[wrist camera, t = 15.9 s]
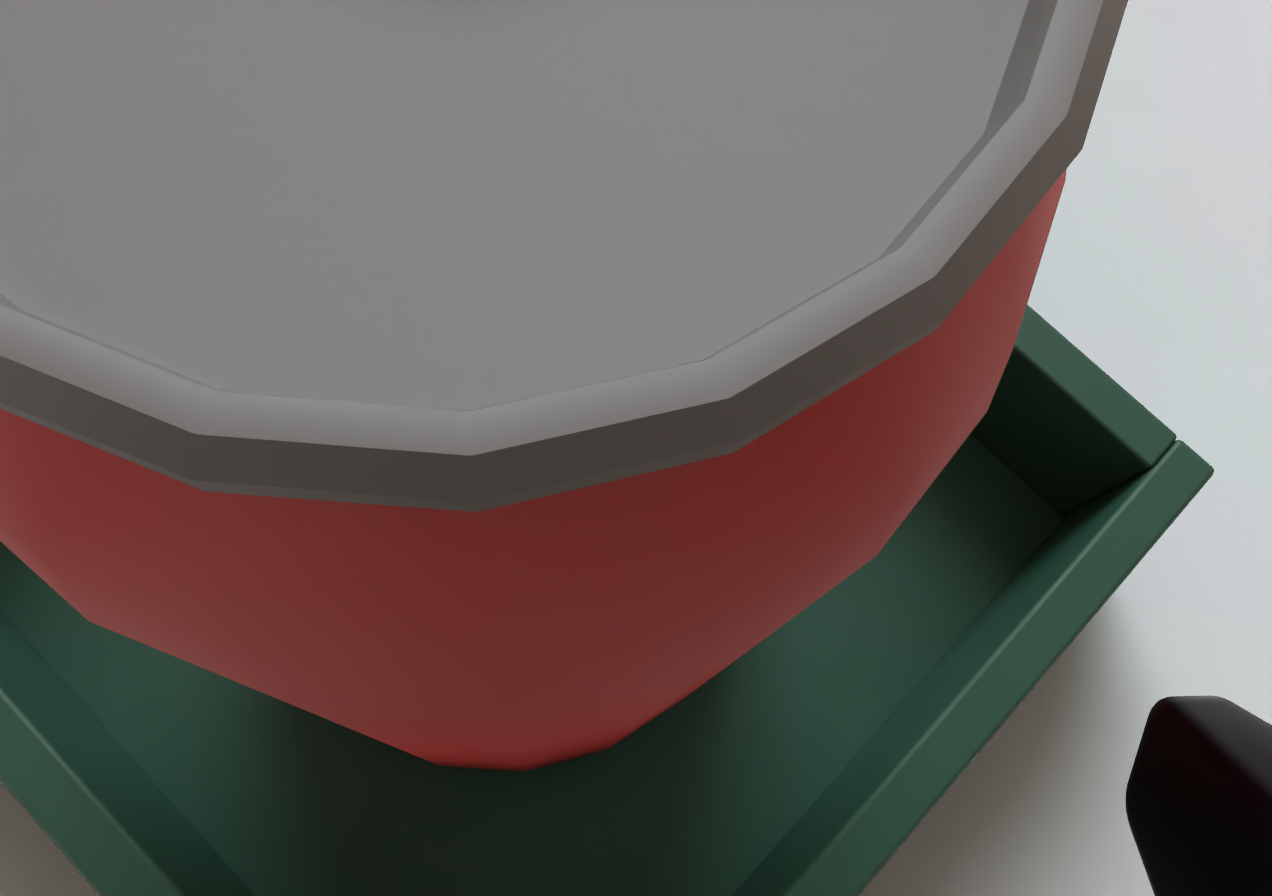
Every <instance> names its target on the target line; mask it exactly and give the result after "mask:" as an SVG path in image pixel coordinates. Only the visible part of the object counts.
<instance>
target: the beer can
mask: <svg viewBox="0 0 1272 896" xmlns="http://www.w3.org/2000/svg"><path fill="white" fill-rule="evenodd" d="M1127 2H1128V0H0V541H1V542H2V543H3V544H4V545H5V546H6V547H7V548H8V549H9V550H11V551H12V552H13V553H14V554H15V555H16V556H17V557H18V558H19V559H20V560H22V561H23V562H24V563H25V564H26V565H27V566H28V567H29V568H30V569H32V570H33V571H34V572H35V573H36V574H37V575H38V576H39V577H40V578H41V579H43V580H44V581H45V582H46V583H47V584H48V585H49V586H50V587H51V588H53V589H54V590H55V591H56V592H57V593H58V594H59V595H60V596H61V597H63V598H64V599H65V600H66V601H67V602H68V603H69V604H70V605H71V606H72V607H74V608H75V609H76V610H77V611H78V612H79V613H80V614H81V615H82V616H84V617H85V618H86V619H87V620H88V621H90V622H92V623H94V624H97V625H99V626H102V627H104V628H107V629H109V630H111V631H114V632H116V633H119V634H121V635H124V636H126V637H128V638H131V639H133V640H136V641H138V642H140V643H143V644H145V645H148V646H150V647H153V648H155V649H157V650H160V651H162V652H165V653H167V654H170V655H172V656H174V657H177V658H179V659H182V660H184V661H187V662H189V663H191V664H194V665H196V666H199V667H201V668H204V669H206V670H208V671H211V672H213V673H216V674H218V675H221V676H223V677H225V678H228V679H230V680H233V681H235V682H238V683H240V684H242V685H245V686H247V687H250V688H252V689H255V690H257V691H259V692H262V693H264V694H267V695H269V696H272V697H274V698H276V699H279V700H281V701H284V702H286V703H289V704H291V705H293V706H296V707H298V708H301V709H303V710H306V711H308V712H310V713H313V714H315V715H318V716H320V717H323V718H325V719H327V720H330V721H332V722H335V723H337V724H340V725H342V726H344V727H347V728H349V729H352V730H354V731H357V732H359V733H361V734H364V735H366V736H369V737H371V738H374V739H376V740H378V741H381V742H383V743H386V744H388V745H391V746H393V747H395V748H398V749H400V750H403V751H405V752H408V753H410V754H412V755H415V756H417V757H420V758H422V759H425V760H427V761H429V762H432V763H434V764H437V765H439V766H448V767H464V768H480V769H496V770H512V771H528V770H532V769H536V768H540V767H543V766H547V765H551V764H555V763H558V762H562V761H566V760H570V759H573V758H577V757H581V756H585V755H589V754H592V753H596V752H600V751H604V750H607V749H609V748H610V747H612V746H613V745H615V744H616V743H618V742H619V741H621V740H622V739H624V738H625V737H627V736H628V735H630V734H632V733H633V732H635V731H636V730H638V729H639V728H641V727H642V726H644V725H645V724H647V723H648V722H650V721H651V720H653V719H654V718H656V717H657V716H659V715H660V714H662V713H664V712H665V711H667V710H668V709H670V708H671V707H673V706H674V705H676V704H677V703H679V702H680V701H681V700H683V699H684V698H685V697H687V696H688V695H689V694H691V693H692V692H693V691H695V690H696V689H697V688H699V687H700V686H701V685H703V684H704V683H706V682H707V681H708V680H710V679H711V678H712V677H714V676H715V675H716V674H718V673H719V672H720V671H722V670H723V669H724V668H726V667H727V666H728V665H730V664H731V663H732V662H734V661H735V660H737V659H738V658H739V657H741V656H742V655H743V654H745V653H746V652H747V651H749V650H750V649H751V648H753V647H754V646H755V645H757V644H758V643H759V642H761V641H762V640H764V639H765V638H766V637H768V636H769V635H770V634H772V633H773V632H774V631H776V630H777V629H778V628H780V627H781V626H782V625H784V624H785V623H786V622H788V621H789V620H791V619H792V618H793V617H795V616H796V615H797V614H799V613H800V612H801V611H803V610H804V609H805V608H807V607H808V606H809V605H811V604H812V603H813V602H815V601H816V600H817V599H819V598H820V597H822V596H823V595H824V594H826V593H827V592H828V591H830V590H831V589H832V588H834V587H835V586H836V585H838V584H839V583H840V582H842V581H843V580H844V579H846V578H847V577H849V576H850V575H851V574H853V573H854V572H855V571H857V570H858V569H859V568H861V567H862V566H863V565H865V564H866V563H867V562H869V561H870V560H871V559H873V558H874V557H876V556H877V555H878V553H879V552H880V551H881V549H882V548H883V547H884V545H885V544H886V543H887V541H888V540H889V539H890V538H891V536H892V535H893V534H894V532H895V531H896V530H897V528H898V527H899V526H900V525H901V523H902V522H903V521H904V519H905V518H906V517H907V515H908V514H909V513H910V511H911V510H912V509H913V508H914V506H915V505H916V504H917V502H918V501H919V500H920V498H921V497H922V496H923V495H924V493H925V492H926V491H927V489H928V488H929V487H930V485H931V484H932V483H933V481H934V480H935V479H936V478H937V476H938V475H939V474H940V472H941V471H942V470H943V468H944V467H945V466H946V465H947V463H948V462H949V461H950V459H951V458H952V457H953V455H954V454H955V453H956V451H957V450H958V449H959V448H960V446H961V445H962V444H963V442H964V441H965V440H966V438H967V437H968V436H969V435H970V433H971V432H972V431H973V429H974V428H975V427H976V425H977V424H978V423H979V421H980V420H981V419H982V418H983V416H984V415H985V414H986V412H987V411H988V408H989V406H990V403H991V401H992V398H993V396H994V394H995V391H996V389H997V386H998V384H999V381H1000V379H1001V377H1002V374H1003V372H1004V369H1005V367H1006V364H1007V362H1008V360H1009V357H1010V355H1011V352H1012V350H1013V347H1014V344H1015V341H1016V338H1017V334H1018V331H1019V328H1020V325H1021V321H1022V318H1023V315H1024V312H1025V309H1026V305H1027V302H1028V299H1029V296H1030V292H1031V289H1032V286H1033V283H1034V279H1035V276H1036V273H1037V270H1038V267H1039V263H1040V260H1041V257H1042V254H1043V250H1044V247H1045V244H1046V241H1047V237H1048V234H1049V231H1050V228H1051V225H1052V221H1053V218H1054V215H1055V212H1056V208H1057V205H1058V202H1059V199H1060V195H1061V192H1062V189H1063V186H1064V183H1065V176H1066V168H1067V167H1068V166H1069V165H1070V163H1071V162H1072V161H1073V160H1074V158H1075V157H1076V156H1077V155H1078V154H1079V152H1080V151H1081V150H1082V148H1083V145H1084V142H1085V138H1086V135H1087V132H1088V129H1089V125H1090V122H1091V119H1092V115H1093V112H1094V109H1095V106H1096V102H1097V99H1098V96H1099V93H1100V89H1101V86H1102V83H1103V80H1104V76H1105V73H1106V70H1107V67H1108V63H1109V60H1110V57H1111V54H1112V50H1113V47H1114V44H1115V41H1116V37H1117V34H1118V31H1119V28H1120V24H1121V21H1122V18H1123V15H1124V11H1125V8H1126V5H1127Z"/></svg>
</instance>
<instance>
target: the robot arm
mask: <svg viewBox="0 0 1272 896" xmlns="http://www.w3.org/2000/svg"><path fill="white" fill-rule="evenodd" d="M1126 812H1127V817H1128V821H1129V825H1130V828H1131V831H1132V834H1133V837H1134V839H1135V842H1136V845H1137V848H1138V850H1139V853H1140V856H1141V859H1142V861H1143V864H1144V867H1145V870H1146V872H1147V875H1148V878H1149V881H1150V884H1151V886H1152V889H1153V892H1154V895H1155V896H1272V725H1270V724H1268V723H1267V722H1265V721H1263V720H1262V719H1260V718H1258V717H1256V716H1255V715H1253V714H1251V713H1250V712H1248V711H1246V710H1244V709H1243V708H1241V707H1239V706H1238V705H1236V704H1234V703H1232V702H1231V701H1229V700H1227V699H1225V698H1221V697H1217V696H1177V697H1166V698H1164V699H1161V700H1159V701H1158V702H1157V703H1156V704H1155V705H1154V706H1153V708H1152V709H1151V711H1150V714H1149V716H1148V719H1147V722H1146V725H1145V729H1144V732H1143V735H1142V738H1141V742H1140V745H1139V748H1138V751H1137V755H1136V758H1135V761H1134V764H1133V768H1132V771H1131V774H1130V777H1129V781H1128V784H1127V790H1126Z"/></svg>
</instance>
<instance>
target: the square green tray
mask: <svg viewBox="0 0 1272 896" xmlns="http://www.w3.org/2000/svg"><path fill="white" fill-rule="evenodd" d="M1176 437H1177V436H1176V435H1175V433H1173V432H1172V431H1171V430H1170V429H1169V428H1168V427H1167V426H1165V425H1164V424H1163V423H1162V422H1161V421H1160V420H1159V419H1157V418H1156V417H1155V416H1154V415H1153V414H1152V413H1151V412H1149V411H1148V410H1147V409H1146V408H1145V407H1144V406H1143V405H1141V404H1140V403H1139V402H1138V401H1137V400H1136V399H1135V398H1133V397H1132V396H1131V395H1130V394H1129V393H1128V392H1127V391H1125V390H1124V389H1123V388H1122V387H1121V386H1120V385H1119V384H1117V383H1116V382H1115V381H1114V380H1113V379H1112V378H1111V377H1109V376H1108V375H1107V374H1106V373H1105V372H1104V371H1103V370H1101V369H1100V368H1099V367H1098V366H1097V365H1096V364H1094V363H1093V362H1092V361H1091V360H1090V359H1089V358H1088V357H1086V356H1085V355H1084V354H1083V353H1082V352H1081V351H1080V350H1078V349H1077V348H1076V347H1075V346H1074V345H1073V344H1072V343H1070V342H1069V341H1068V340H1067V339H1066V338H1065V337H1064V336H1062V335H1061V334H1060V333H1059V332H1058V331H1057V330H1056V329H1054V328H1053V327H1052V326H1051V325H1050V324H1049V323H1048V322H1046V321H1045V320H1044V319H1043V318H1042V317H1041V316H1040V315H1038V314H1037V313H1036V312H1035V311H1034V310H1033V309H1032V308H1030V307H1029V306H1028V305H1026V309H1025V312H1024V315H1023V318H1022V321H1021V325H1020V328H1019V331H1018V334H1017V338H1016V341H1015V344H1014V347H1013V350H1012V352H1011V355H1010V357H1009V360H1008V362H1007V364H1006V367H1005V369H1004V372H1003V374H1002V377H1001V379H1000V381H999V384H998V386H997V389H996V391H995V394H994V396H993V398H992V401H991V403H990V406H989V408H988V411H987V412H986V414H985V415H984V416H983V418H982V419H981V420H980V421H979V423H978V424H977V425H976V427H975V428H974V429H973V431H972V432H971V433H970V435H969V436H968V437H967V438H966V440H965V441H964V442H963V444H962V445H961V446H960V448H959V449H958V450H957V451H956V453H955V454H954V455H953V457H952V458H951V459H950V461H949V462H948V463H947V465H946V466H945V467H944V468H943V470H942V471H941V472H940V474H939V475H938V476H937V478H936V479H935V480H934V481H933V483H932V484H931V485H930V487H929V488H928V489H927V491H926V492H925V493H924V495H923V496H922V497H921V498H920V500H919V501H918V502H917V504H916V505H915V506H914V508H913V509H912V510H911V511H910V513H909V514H908V515H907V517H906V518H905V519H904V521H903V522H902V523H901V525H900V526H899V527H898V528H897V530H896V531H895V532H894V534H893V535H892V536H891V538H890V539H889V540H888V541H887V543H886V544H885V545H884V547H883V548H882V549H881V551H880V552H879V553H878V555H877V556H876V557H874V558H873V559H871V560H870V561H869V562H867V563H866V564H865V565H863V566H862V567H861V568H859V569H858V570H857V571H855V572H854V573H853V574H851V575H850V576H849V577H847V578H846V579H844V580H843V581H842V582H840V583H839V584H838V585H836V586H835V587H834V588H832V589H831V590H830V591H828V592H827V593H826V594H824V595H823V596H822V597H820V598H819V599H817V600H816V601H815V602H813V603H812V604H811V605H809V606H808V607H807V608H805V609H804V610H803V611H801V612H800V613H799V614H797V615H796V616H795V617H793V618H792V619H791V620H789V621H788V622H786V623H785V624H784V625H782V626H781V627H780V628H778V629H777V630H776V631H774V632H773V633H772V634H770V635H769V636H768V637H766V638H765V639H764V640H762V641H761V642H759V643H758V644H757V645H755V646H754V647H753V648H751V649H750V650H749V651H747V652H746V653H745V654H743V655H742V656H741V657H739V658H738V659H737V660H735V661H734V662H732V663H731V664H730V665H728V666H727V667H726V668H724V669H723V670H722V671H720V672H719V673H718V674H716V675H715V676H714V677H712V678H711V679H710V680H708V681H707V682H706V683H704V684H703V685H701V686H700V687H699V688H697V689H696V690H695V691H693V692H692V693H691V694H689V695H688V696H687V697H685V698H684V699H683V700H681V701H680V702H679V703H677V704H676V705H674V706H673V707H671V708H670V709H668V710H667V711H665V712H664V713H662V714H660V715H659V716H657V717H656V718H654V719H653V720H651V721H650V722H648V723H647V724H645V725H644V726H642V727H641V728H639V729H638V730H636V731H635V732H633V733H632V734H630V735H628V736H627V737H625V738H624V739H622V740H621V741H619V742H618V743H616V744H615V745H613V746H612V747H610V748H609V749H607V750H604V751H600V752H596V753H592V754H589V755H585V756H581V757H577V758H573V759H570V760H566V761H562V762H558V763H555V764H551V765H547V766H543V767H540V768H536V769H532V770H528V771H512V770H496V769H480V768H464V767H448V766H439V765H437V764H434V763H432V762H429V761H427V760H425V759H422V758H420V757H417V756H415V755H412V754H410V753H408V752H405V751H403V750H400V749H398V748H395V747H393V746H391V745H388V744H386V743H383V742H381V741H378V740H376V739H374V738H371V737H369V736H366V735H364V734H361V733H359V732H357V731H354V730H352V729H349V728H347V727H344V726H342V725H340V724H337V723H335V722H332V721H330V720H327V719H325V718H323V717H320V716H318V715H315V714H313V713H310V712H308V711H306V710H303V709H301V708H298V707H296V706H293V705H291V704H289V703H286V702H284V701H281V700H279V699H276V698H274V697H272V696H269V695H267V694H264V693H262V692H259V691H257V690H255V689H252V688H250V687H247V686H245V685H242V684H240V683H238V682H235V681H233V680H230V679H228V678H225V677H223V676H221V675H218V674H216V673H213V672H211V671H208V670H206V669H204V668H201V667H199V666H196V665H194V664H191V663H189V662H187V661H184V660H182V659H179V658H177V657H174V656H172V655H170V654H167V653H165V652H162V651H160V650H157V649H155V648H153V647H150V646H148V645H145V644H143V643H140V642H138V641H136V640H133V639H131V638H128V637H126V636H124V635H121V634H119V633H116V632H114V631H111V630H109V629H107V628H104V627H102V626H99V625H97V624H94V623H92V622H90V621H88V620H87V619H86V618H85V617H84V616H82V615H81V614H80V613H79V612H78V611H77V610H76V609H75V608H74V607H72V606H71V605H70V604H69V603H68V602H67V601H66V600H65V599H64V598H63V597H61V596H60V595H59V594H58V593H57V592H56V591H55V590H54V589H53V588H51V587H50V586H49V585H48V584H47V583H46V582H45V581H44V580H43V579H41V578H40V577H39V576H38V575H37V574H36V573H35V572H34V571H33V570H32V569H30V568H29V567H28V566H27V565H26V564H25V563H24V562H23V561H22V560H20V559H19V558H18V557H17V556H16V555H15V554H14V553H13V552H12V551H11V550H9V549H8V548H7V547H6V546H5V545H4V544H3V543H2V542H1V541H0V781H1V782H2V783H3V785H4V786H5V787H6V788H7V789H8V790H9V792H10V793H11V794H12V795H13V796H14V797H15V798H16V800H17V801H18V802H19V803H20V804H21V805H22V807H23V808H24V809H25V810H26V811H27V812H28V813H29V815H30V816H31V817H32V818H33V819H34V820H35V822H36V823H37V824H38V825H39V826H40V827H41V829H42V830H43V831H44V832H45V833H46V834H47V835H48V837H49V838H50V839H51V840H52V841H53V842H54V844H55V845H56V846H57V847H58V848H59V849H60V850H61V852H62V853H63V854H64V855H65V856H66V857H67V859H68V860H69V861H70V862H71V863H72V864H73V865H74V867H75V868H76V869H77V870H78V871H79V872H80V874H81V875H82V876H83V877H84V878H85V879H86V881H87V882H88V883H89V884H90V885H91V886H92V887H93V889H94V890H95V891H96V892H97V893H98V894H99V896H859V895H860V894H861V892H862V891H863V890H864V889H865V888H866V886H867V885H868V884H869V883H870V882H871V880H872V879H873V878H874V877H875V876H876V874H877V873H878V872H879V871H880V870H881V869H882V867H883V866H884V865H885V864H886V863H887V861H888V860H889V859H890V858H891V857H892V855H893V854H894V853H895V852H896V851H897V850H898V848H899V847H900V846H901V845H902V844H903V842H904V841H905V840H906V839H907V838H908V836H909V835H910V834H911V833H912V832H913V831H914V829H915V828H916V827H917V826H918V825H919V823H920V822H921V821H922V820H923V819H924V817H925V816H926V815H927V814H928V813H929V811H930V810H931V809H932V808H933V807H934V806H935V804H936V803H937V802H938V801H939V800H940V798H941V797H942V796H943V795H944V794H945V792H946V791H947V790H948V789H949V788H950V787H951V785H952V784H953V783H954V782H955V781H956V779H957V778H958V777H959V776H960V775H961V773H962V772H963V771H964V770H965V769H966V768H967V766H968V765H969V764H970V763H971V762H972V760H973V759H974V758H975V757H976V756H977V754H978V753H979V752H980V751H981V750H982V749H983V747H984V746H985V745H986V744H987V743H988V741H989V740H990V739H991V738H992V737H993V735H994V734H995V733H996V732H997V731H998V729H999V728H1000V727H1001V726H1002V725H1003V724H1004V722H1005V721H1006V720H1007V719H1008V718H1009V716H1010V715H1011V714H1012V713H1013V712H1014V710H1015V709H1016V708H1017V707H1018V706H1019V705H1020V703H1021V702H1022V701H1023V700H1024V699H1025V697H1026V696H1027V695H1028V694H1029V693H1030V691H1031V690H1032V689H1033V688H1034V687H1035V686H1036V684H1037V683H1038V682H1039V681H1040V680H1041V678H1042V677H1043V676H1044V675H1045V674H1046V672H1047V671H1048V670H1049V669H1050V668H1051V666H1052V665H1053V664H1054V663H1055V662H1056V661H1057V659H1058V658H1059V657H1060V656H1061V655H1062V653H1063V652H1064V651H1065V650H1066V649H1067V647H1068V646H1069V645H1070V644H1071V643H1072V642H1073V640H1074V639H1075V638H1076V637H1077V636H1078V634H1079V633H1080V632H1081V631H1082V630H1083V628H1084V627H1085V626H1086V625H1087V624H1088V623H1089V621H1090V620H1091V619H1092V618H1093V617H1094V615H1095V614H1096V613H1097V612H1098V611H1099V609H1100V608H1101V607H1102V606H1103V605H1104V603H1105V602H1106V601H1107V600H1108V599H1109V598H1110V596H1111V595H1112V594H1113V593H1114V592H1115V590H1116V589H1117V588H1118V587H1119V586H1120V584H1121V583H1122V582H1123V581H1124V580H1125V579H1126V577H1127V576H1128V575H1129V574H1130V573H1131V571H1132V570H1133V569H1134V568H1135V567H1136V565H1137V564H1138V563H1139V562H1140V561H1141V560H1142V558H1143V557H1144V556H1145V555H1146V554H1147V552H1148V551H1149V550H1150V549H1151V548H1152V546H1153V545H1154V544H1155V543H1156V542H1157V540H1158V539H1159V538H1160V537H1161V536H1162V535H1163V533H1164V532H1165V531H1166V530H1167V529H1168V527H1169V526H1170V525H1171V524H1172V523H1173V521H1174V520H1175V519H1176V518H1177V517H1178V516H1179V514H1180V513H1181V512H1182V511H1183V510H1184V508H1185V507H1186V506H1187V505H1188V504H1189V502H1190V501H1191V500H1192V499H1193V498H1194V497H1195V495H1196V494H1197V493H1198V492H1199V491H1200V489H1201V488H1202V487H1203V486H1204V485H1205V483H1206V482H1207V481H1208V480H1209V479H1210V478H1211V476H1212V475H1213V472H1214V469H1213V468H1212V466H1210V465H1209V464H1208V463H1207V462H1206V461H1205V460H1204V459H1202V458H1201V457H1200V456H1199V455H1198V454H1197V453H1195V452H1194V451H1193V450H1192V449H1191V448H1190V447H1189V446H1187V445H1186V444H1185V443H1184V442H1183V441H1180V440H1177V441H1175V440H1176Z"/></svg>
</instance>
